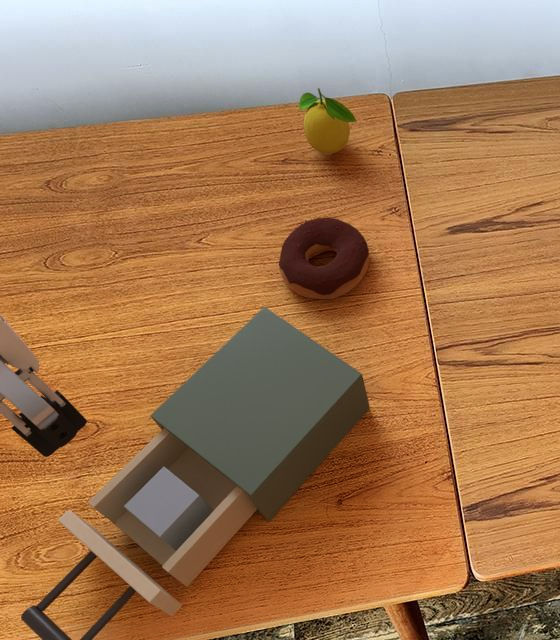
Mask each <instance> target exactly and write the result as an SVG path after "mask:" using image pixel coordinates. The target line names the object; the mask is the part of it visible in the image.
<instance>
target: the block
mask: <svg viewBox="0 0 560 640" xmlns="http://www.w3.org/2000/svg"><path fill="white" fill-rule="evenodd" d="M124 507H125V508H126V509H127V510H128V511H130V512H131V513H132V514H133V515H134V516H135V517H137V518H138V519H139V520H140V521H141V522H142V523H144V524H145V525H146V526H147V527H148V528H149V529H151V530H152V531H153V532H154V533H155V534H156V535H158V536H159V537H160V538H161V539H162V540H163V541H165V542H166V543H167V544H168V545H169V546H170V547H172V548H173V549H174V550H175V551H177V550H178V549H179V548H180V547H181V546H182V544H183V543H184V542H185V541H186V540H187V539H188V538H189V537H190V536H191V535H192V534H193V533H194V532H195V531H196V529H197V528H198V527H199V526H200V525H201V524H202V523H203V522H204V521H205V520H206V519H207V518H208V517H209V515H210V514H211V513H212V512H213V510H212V509H211V508H210V507H209V506H208V505H207V503H206V502H205V501H204V500H203V499H202V498H201V497H200V495H198V494H197V493H196V492H195V491H194V490H192V489H191V488H190V487H189V486H187V485H186V484H185V483H184V482H183V481H181V480H180V479H179V478H178V477H176V476H175V475H174V474H173V473H172V472H170V471H169V470H168V469H167V468H165V467H163V468H162V469H161V470H160V471H159V472H158V473H157V474H156V475H155V476H154V477H153V478H152V479H151V480H150V481H149V482H148V483H147V484H146V485H145V486H144V487H143V488H142V489H141V490H140V491H139V492H138V493H137V494H136V495H135V496H134V497H133V498H132V499H131V500H130V501H129V502H128V503H127V504H126V505H125V506H124Z"/></svg>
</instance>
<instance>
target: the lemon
mask: <svg viewBox="0 0 560 640" xmlns="http://www.w3.org/2000/svg"><path fill="white" fill-rule="evenodd" d="M317 92H318V96H319V97H317V96H316V95H315V94H313V93H311V92H305V93H302V95H301V96H300V99H299V102H298V106H297V107H298V109H299V110H300V111H305V110H306V111H305V114H304V118H303V132H304V136H305V139H306V141H307V142H308V144H309V145H310V146H311V148H312V149H314V150H315V151H316V152H319V153H322V154H324V155H333V154H336V153H339V152H340V151H342V150H343V149H344V148H345V147H346V145H347V144H348V142H349V140H350V139H349V138H350V134H351V128H350V124H349V123H357V121H358V120H357V119H356V117H355V115H354V114H353V112H352V111H351V110H350V109H349V108H348V107H347V106H345V105H344V104H343V103H342V102H339V101H338V100H336V99H334V98H331V97H328V96H327V97H326V96H325V95H323V93H322V92H321V88H319V87H317ZM323 98H324V99H323Z"/></svg>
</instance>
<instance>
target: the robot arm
mask: <svg viewBox="0 0 560 640" xmlns="http://www.w3.org/2000/svg"><path fill="white" fill-rule="evenodd" d="M8 365H10V366H11V367H12V368H14V369H17V370H15V371H14V370H12V369H11V368H10V367H9V366H8ZM39 370H40V360H39V359H38V357H37V356H36V355H35V354H34V352H33V351H32V350H31V349H30V348H29V346H28V345H27V344H26V343H25V341H24V340H23V339H22V338H21V336H20V335H19V334H18V333H17V332H16V331H15V329H14V328H13V327H12V325H10V323H9V322H8V321H7V320H6V319H5V318H4V316H3V315H2V314H1V313H0V414H1V415H2V416H3V417H4V418H5V419H6V420H7V421H9V422H10V423H11V424H12V425H13V426H12V427H11V430H12V431H13V432H14V433H16V434H17V435H18V436H19V437H20V438H22V440H24V441H25V442H26V443H27V444H29V446H31V447H32V448H33V449H35V450H36V451H37V452H38V453H39V454H41V455H42V456H43V457H45V458H48V457H50V456H52V455H53V454H54V453H55V452H57V451H58V450H59V449H60V448H63V447H65V446H67V445H68V444H69V443H70V442H71V441H72V440H74V438H75V437H76V436H77V434H78V432H79V431H81V430H82V429H83V428H84V427H85V426H86V425H87V423H88V420H87V418H86V417H84V415H82V414H81V412H80V411H79V410H78V409H77V408H76V407H75V406H74V405H73V404H72V403H71V402H70V401H69V400H68V399H67V398H66V397H65V396H64V395H63V394H62V393H61V392H60V391H59V390H57V389H56V390H55V391H54V390H53V389H52V388H50V387H49V385H48V384H47V383H45V381H43V380H42V379H41V378H40V377H39V376H38V375H37V374H38V373H39ZM26 382H28V383H29V384H30V385H31V386H33V388H35V389H36V390H37V391H38V392H39V393H40V394H41V395H39V394H38V392H36V391H35V389H33V388H32V387H31V386H30V385H29V384H28V383H26ZM5 399H6V400H7V401H8V402H9V403H10V404H12V405H13V406H14V407H15V408H16V409H17V410H18V411H19V412H20V413H19V414H18V413H17V412H15V411H14V410H13V409H12V408H11V407H10V406H8V405H7V404H6V403H5V402H4V400H5Z"/></svg>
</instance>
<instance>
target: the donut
mask: <svg viewBox="0 0 560 640" xmlns="http://www.w3.org/2000/svg"><path fill="white" fill-rule="evenodd" d="M329 251H330V252H335V253H336V255H335V257H334V258H333V259H332V260H331V261H330V262H328V263H326V264H325V265H319V266H317V265H316V266H315V265H313V264H311V263H310V261H309V260H310V259H312V258H313V257H315V256H317V255H320V254H322V253H325V252H329ZM369 265H370V249H369V245H368V242H367V241H366V239H365V237H364V235H362V233H361V232H360V231H359V230H358V229H357V228H356V227H355V226H353V225H352V224H350V223H348V222H346V221H343V220H341V219H338V218H334V217H329V216H328V217H319V218H314V219H309V220H306V221H304V222H303V223H302V224H300V225H298V226H297V227H296V228H295V229H293V230H292V231H291V232H290V234H289V235H288V236H287V237H286V239H285V240H284V242H283V243H282V244H281V250H280V256H279V260H278V267H279V272H280V276H281V279H282V281H283V282H284V284H285V285H286V286H287V287H288V289H290V290H291V291H293V292H294V293H295V294H298V295H299V296H300V297H301V296H302V297H305V298H308V299H315V300H327V299H336V298H338V297H339V298H340V297H343V296H344V295H346V294H347V293H349V292H350V291H352V290H353V289H354V288H355V287H356V286H357V285H358V284H359V283H360V282H361V281H362V280H363V279H364V276H365V275H366V274H367V272H368V269H369Z"/></svg>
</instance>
